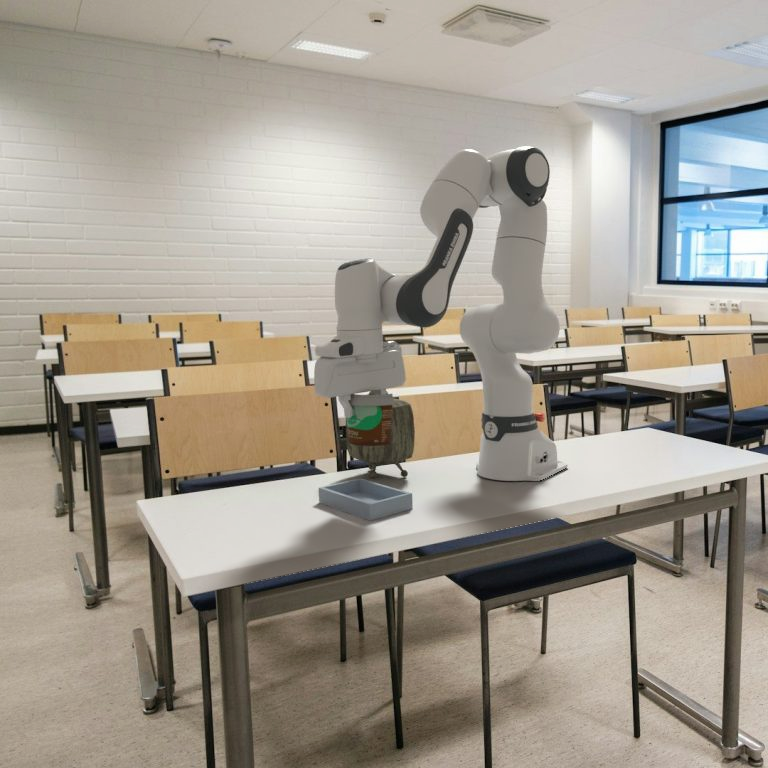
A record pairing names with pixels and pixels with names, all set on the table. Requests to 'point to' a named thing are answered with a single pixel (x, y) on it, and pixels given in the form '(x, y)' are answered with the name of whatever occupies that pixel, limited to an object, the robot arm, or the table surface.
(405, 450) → the tabletop clock
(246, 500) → the table surface
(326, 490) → the holder tray
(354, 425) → the food container
